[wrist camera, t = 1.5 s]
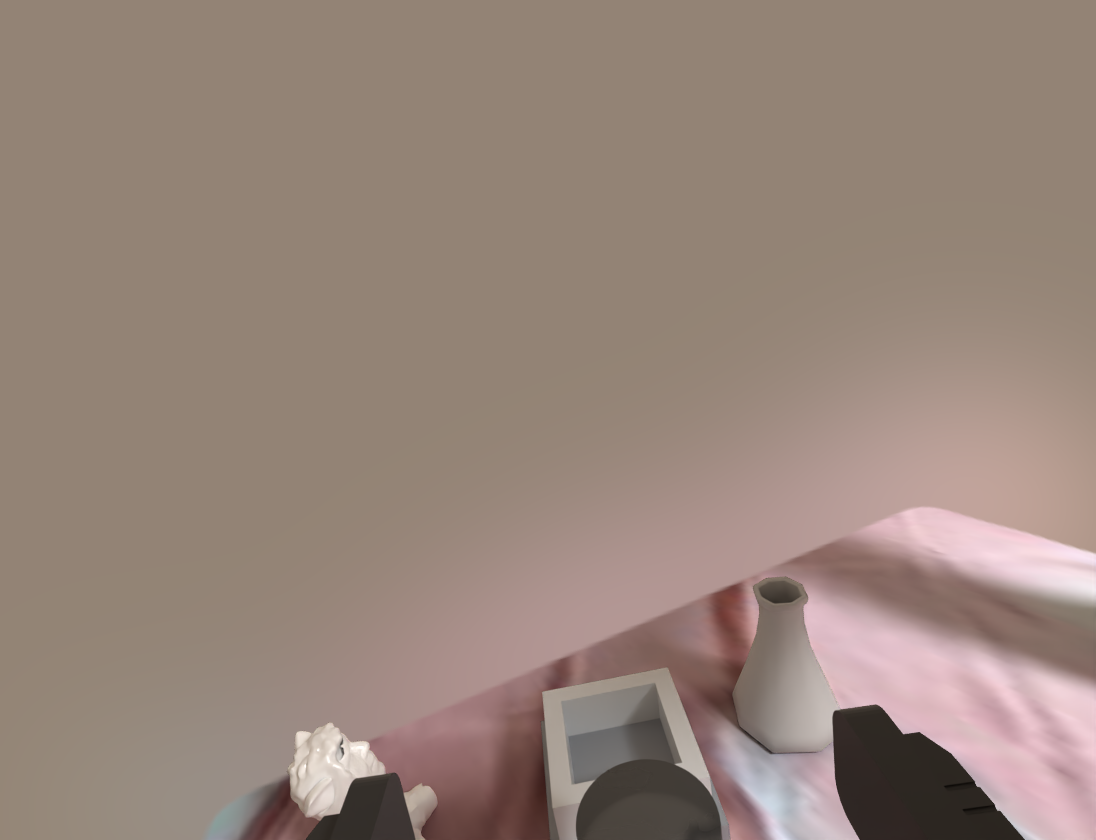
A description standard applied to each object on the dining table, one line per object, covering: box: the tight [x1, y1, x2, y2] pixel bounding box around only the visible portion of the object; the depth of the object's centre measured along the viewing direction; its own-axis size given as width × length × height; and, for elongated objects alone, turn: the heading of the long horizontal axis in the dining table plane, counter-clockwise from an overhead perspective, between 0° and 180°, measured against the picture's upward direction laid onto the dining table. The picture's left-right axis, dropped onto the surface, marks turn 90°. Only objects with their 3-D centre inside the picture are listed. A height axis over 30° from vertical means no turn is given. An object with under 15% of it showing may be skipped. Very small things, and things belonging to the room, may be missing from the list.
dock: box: [541, 667, 730, 840], centre depth 38 cm, size 10×10×4 cm
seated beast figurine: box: [287, 722, 438, 840], centre depth 32 cm, size 10×9×12 cm
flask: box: [732, 577, 841, 753], centre depth 40 cm, size 7×7×10 cm
